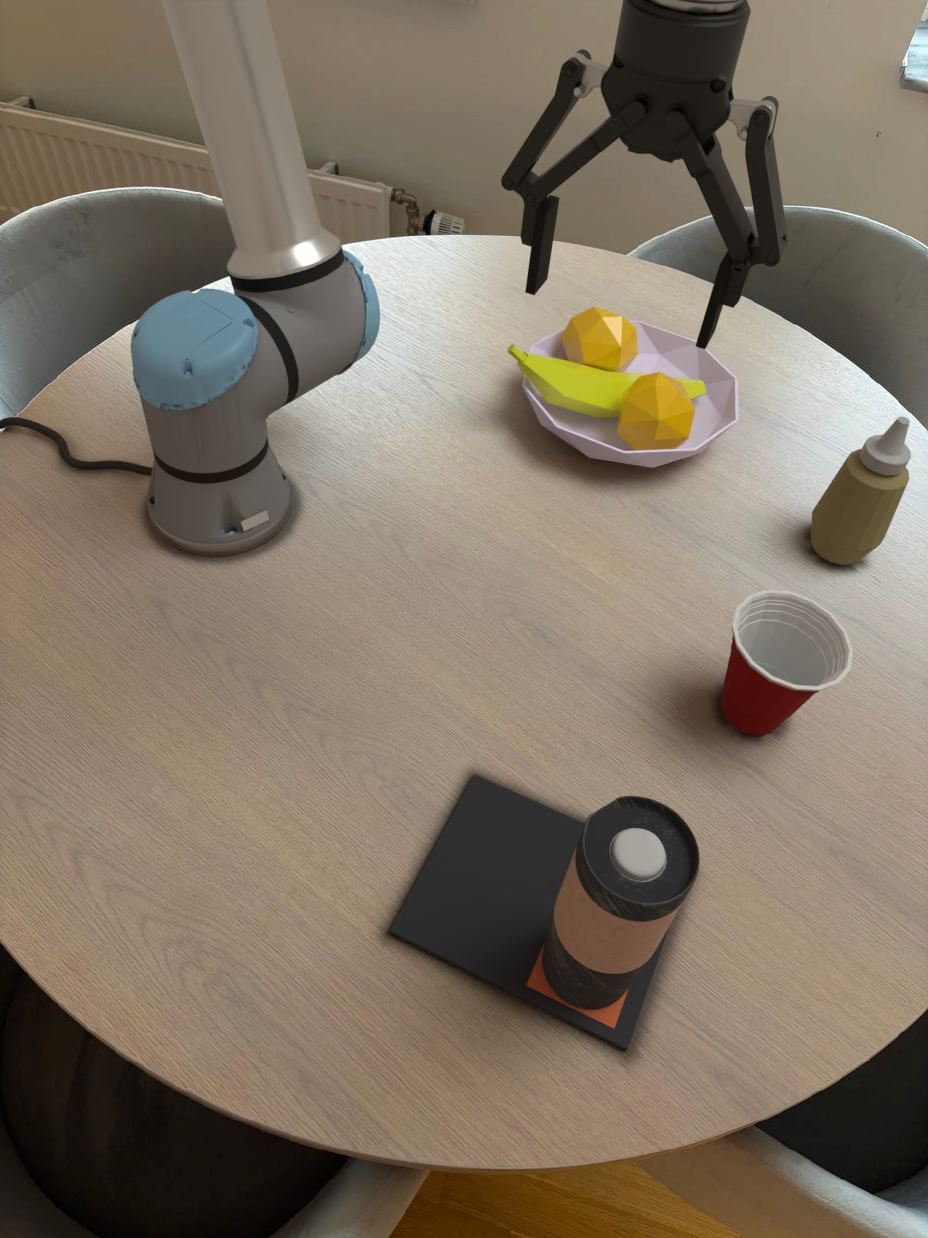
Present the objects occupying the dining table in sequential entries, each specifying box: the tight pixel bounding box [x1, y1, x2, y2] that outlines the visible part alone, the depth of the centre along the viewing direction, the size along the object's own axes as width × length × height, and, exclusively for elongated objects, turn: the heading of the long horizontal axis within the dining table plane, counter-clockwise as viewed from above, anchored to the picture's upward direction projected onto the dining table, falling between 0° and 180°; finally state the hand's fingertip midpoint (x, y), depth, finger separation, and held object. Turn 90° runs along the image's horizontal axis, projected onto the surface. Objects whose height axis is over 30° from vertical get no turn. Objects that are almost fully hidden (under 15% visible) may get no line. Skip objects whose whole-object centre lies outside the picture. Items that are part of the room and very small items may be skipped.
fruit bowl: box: [507, 306, 739, 469], centre depth 115 cm, size 28×27×11 cm
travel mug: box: [542, 795, 701, 1010], centre depth 66 cm, size 8×8×20 cm
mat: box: [389, 773, 670, 1052], centre depth 78 cm, size 20×16×1 cm
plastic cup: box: [720, 589, 854, 736], centre depth 87 cm, size 11×11×12 cm
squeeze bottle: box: [810, 416, 912, 566], centre depth 100 cm, size 8×8×18 cm
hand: (618, 312), depth 72 cm, fingers open, 13 cm apart
